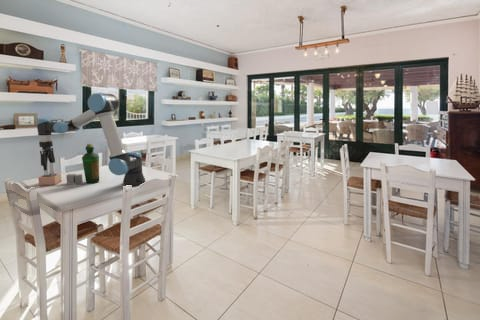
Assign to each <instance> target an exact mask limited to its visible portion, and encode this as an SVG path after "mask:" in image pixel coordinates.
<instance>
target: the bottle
mask: <svg viewBox="0 0 480 320" xmlns="http://www.w3.org/2000/svg"><path fill="white" fill-rule="evenodd" d="M85 150H86V153H84V154H83V155H82V157H81V160H82V161H81V162H82V167H83V171H84V173H83V174H84V178H85V179H84V180H85V183H86V184H92V185H93V184H97V183H99V182H100V157H99V155H98V154H97V153H95V152H94V150H95V148H94V145H93V144H92V143H89V144H88V143H87V144H86V146H85Z"/></svg>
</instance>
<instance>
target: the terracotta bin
mask: <svg viewBox="0 0 480 320" xmlns="http://www.w3.org/2000/svg"><path fill="white" fill-rule="evenodd" d="M37 179H38V184H39V185H38V186H39V187H42V186H56V185H58V184H60V183H61V182H62V181H63V180H62V174H61V173H55V176H54V177H45V176H44V174H42V175H40V176H38V178H37Z"/></svg>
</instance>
